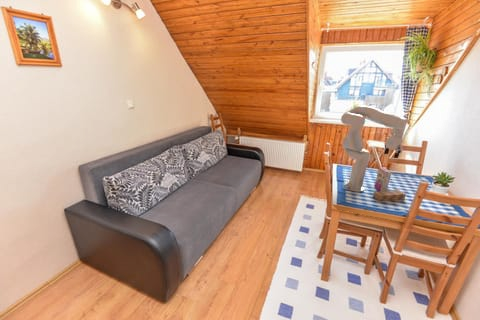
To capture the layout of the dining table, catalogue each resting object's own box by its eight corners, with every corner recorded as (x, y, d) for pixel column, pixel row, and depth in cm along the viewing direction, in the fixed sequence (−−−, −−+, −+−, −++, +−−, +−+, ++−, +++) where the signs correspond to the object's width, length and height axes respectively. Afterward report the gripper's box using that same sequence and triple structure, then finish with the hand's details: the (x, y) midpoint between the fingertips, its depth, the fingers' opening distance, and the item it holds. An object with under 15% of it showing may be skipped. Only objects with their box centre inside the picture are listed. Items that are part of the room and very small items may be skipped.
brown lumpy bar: (379, 202, 153) (380, 195, 151) (372, 197, 158) (374, 191, 157) (404, 200, 156) (406, 194, 154) (397, 196, 162) (399, 190, 160)
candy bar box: (373, 185, 177) (378, 166, 171) (380, 186, 176) (385, 167, 170) (379, 192, 166) (384, 172, 161) (386, 192, 165) (392, 172, 160)
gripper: (383, 131, 174) (378, 152, 180) (402, 137, 158) (395, 159, 164) (392, 131, 175) (386, 152, 181) (411, 137, 159) (404, 159, 165)
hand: (390, 155), depth 172 cm, fingers open, 9 cm apart
